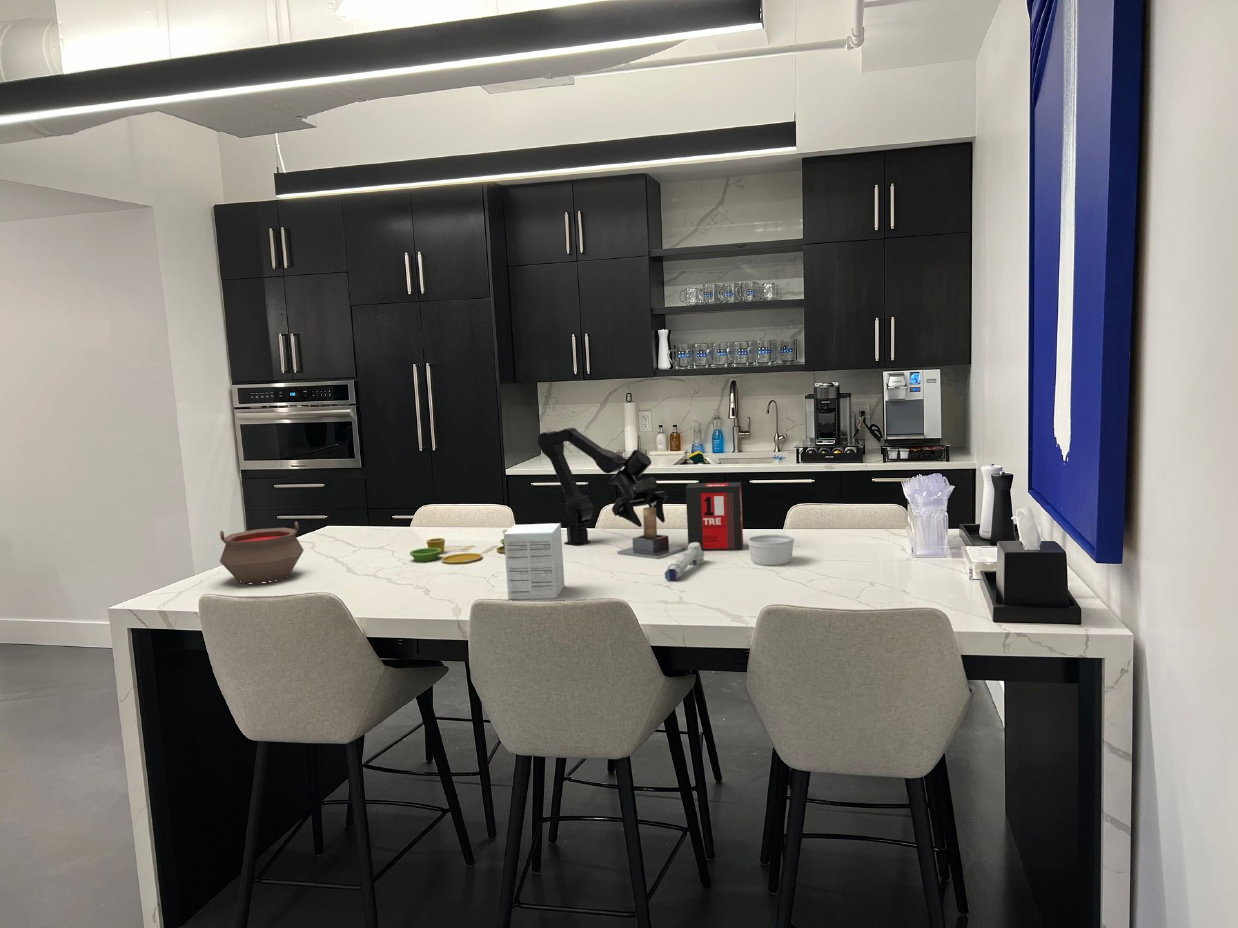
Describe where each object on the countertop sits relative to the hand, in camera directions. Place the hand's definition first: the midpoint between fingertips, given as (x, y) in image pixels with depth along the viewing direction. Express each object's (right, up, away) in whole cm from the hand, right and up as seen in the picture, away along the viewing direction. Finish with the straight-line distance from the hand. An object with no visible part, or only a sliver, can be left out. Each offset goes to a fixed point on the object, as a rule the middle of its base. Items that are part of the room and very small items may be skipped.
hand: (652, 523), depth 286 cm
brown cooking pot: (-118, -16, -6) cm, 119 cm away
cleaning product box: (+20, -8, +3) cm, 22 cm away
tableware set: (-55, -12, +12) cm, 58 cm away
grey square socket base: (0, -9, +2) cm, 9 cm away
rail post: (0, -8, +2) cm, 8 cm away
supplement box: (-32, -16, -41) cm, 55 cm away
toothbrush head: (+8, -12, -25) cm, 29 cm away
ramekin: (+34, -10, -19) cm, 40 cm away
